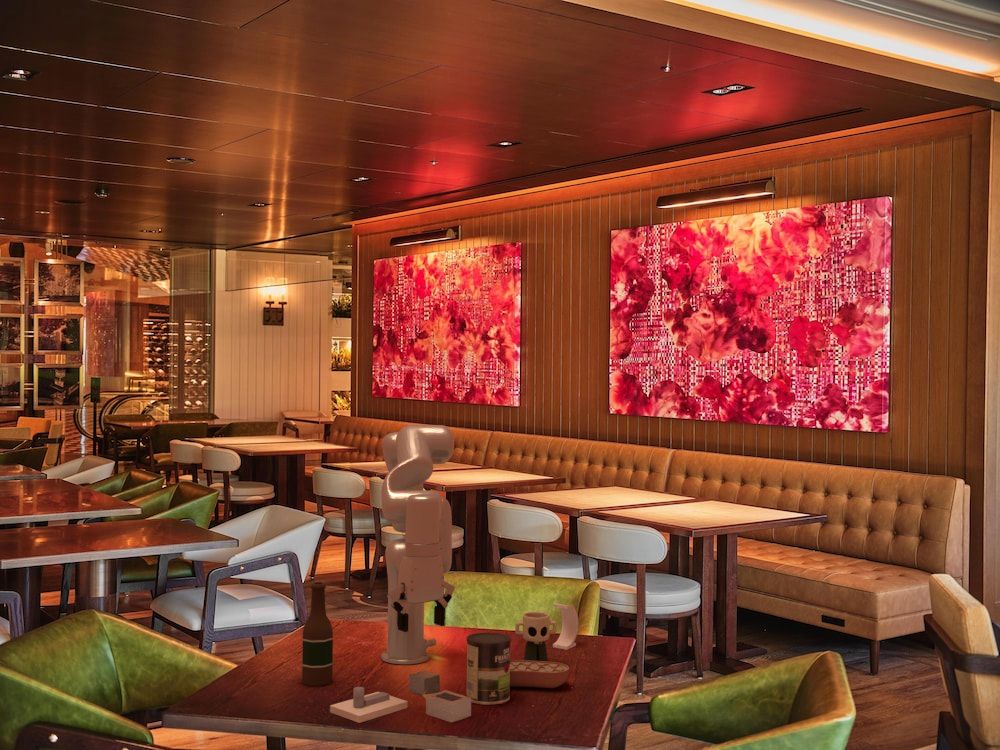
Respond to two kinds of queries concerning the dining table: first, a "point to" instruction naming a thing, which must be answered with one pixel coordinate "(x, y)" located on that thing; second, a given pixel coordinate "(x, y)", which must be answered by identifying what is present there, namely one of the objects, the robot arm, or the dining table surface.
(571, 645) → the headphone stand
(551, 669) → the mitochondrion model
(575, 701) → the dining table surface
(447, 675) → the dining table surface
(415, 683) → the block
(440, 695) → the link
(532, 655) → the character mug
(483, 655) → the coffee can
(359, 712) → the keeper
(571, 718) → the dining table surface
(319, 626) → the beer bottle
